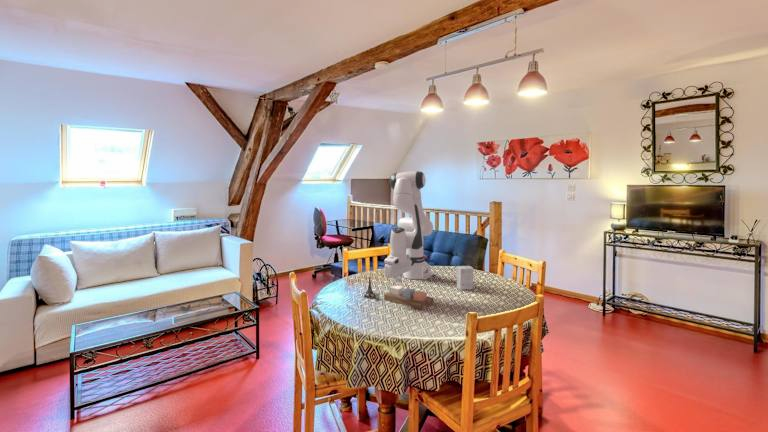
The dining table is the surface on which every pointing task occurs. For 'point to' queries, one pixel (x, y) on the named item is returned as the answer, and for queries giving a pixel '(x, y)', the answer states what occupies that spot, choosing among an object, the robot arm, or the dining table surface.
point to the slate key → (408, 293)
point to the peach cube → (420, 296)
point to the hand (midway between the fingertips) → (398, 281)
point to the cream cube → (397, 290)
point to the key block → (408, 301)
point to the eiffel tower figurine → (371, 293)
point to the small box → (465, 277)
